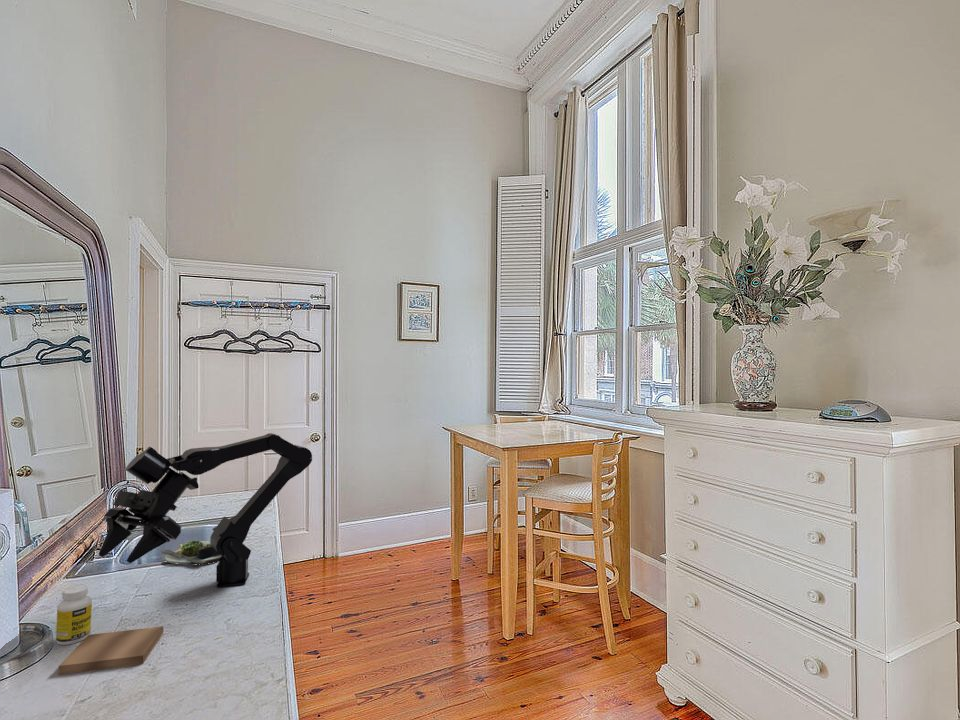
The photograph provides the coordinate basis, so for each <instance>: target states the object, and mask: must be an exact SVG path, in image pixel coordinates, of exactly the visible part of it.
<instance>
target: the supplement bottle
mask: <svg viewBox="0 0 960 720" xmlns="http://www.w3.org/2000/svg"><path fill="white" fill-rule="evenodd" d="M88 594H89V586H88V585H86V584H79V585H72V586H70V587H67V588H65V589H64V590H62V594H61V595H62V596H61V598H62V601H60V602H59V603H58V604H57V608H56V628H55V629H56V630H55V631H56V633H55V641H56V643H58V644H57V645H62V646H63V645H64V646H66V645H73V644H77V643H79V642H80V643H81V642H82V641H83V640H84V639H85V638H86V637H87V636H88V635H91V628H92V607H93V606H92V604H93V602H92V598H91V597H90V596H89V595H88Z"/></svg>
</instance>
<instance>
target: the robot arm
mask: <svg viewBox="0 0 960 720" xmlns="http://www.w3.org/2000/svg"><path fill="white" fill-rule="evenodd" d="M267 451H273V452H274V453H276V454H278V455H279V456H280V458H279V459H278V462H277V465H276V468H275V469H274V471H273V472H272V473H271V474H270V476H269V477H268V478H267V479H266V480H265V481H264V483H263V484H262V485H260V487H259V488H258V489H257V490H256V492H254V494H253V495H252V496H251V498H250V499H249V500H248V501H247V502H246V503H245V504H244V505H243V506H242V508H241V509H240V510H239V511H238V512H237V513H236V514H235V515H233V516H232V517H231V518H228V517H226V516H223V517H222V519H221V520H220V522H219V523H218V524H217V525H216V526H215V527H213V528H212V531H213V532H212V533H211V535H210V538H209V539H210V543H211V545H212V547H213V548H214V549H215V550H216V551H217V552H218V553H219V554H220V555H222V556H221V557H220V559H219V562H217V565H216V570H215V571H216V574H215V575H216V576H215V579H216V580H215V582H216V583H217V584H216V587H217V588H221V587H230V586H231V587H232V586H242V585H246V584H247V581H248V578H249V576H250V572H249V558H250V555H251V552H252V550H251V549H250V548H249V547H248V546H246V545H245V544H244V542H245V540H246V539H247V536H248V533H249V531H250V529H251V526H252V525H253V523H254V522H255V521H256V520H257V519H258V518H259V516H260V515H261V514H262V512H264V511H265V509H266V508H267V507H268V505H270V503H271V502H272V501H273V500H274V499H275V498H276V496H277V495H278V494H279V493H280V492H281V490H282V489H283V488H284V487H285V486H286V484H287V483H288V482H289V481H290V480H291V479H293V478H295V477H296V476H298V475H300V474H301V473H302V472H303V471H305V470H306V468H308V467H309V466H310V465H311V463H312V462H313V454H312V451H311V450H310V449H308V448H307V447H304V446H301V445H296V444H293V443H291V442H289V441H288V440H286V439H284V438H282V437H281V436H280V435H278V434H276V433H272V432H271V433H270V432H268V433H266V434H263V435H261V436H257V437H253V438H248V439H244V440H241V441H236V442H233V443H229V444H226V445H220V446H205V447H204V446H203V447H194V448H193V447H192V448H189V449H186V450H184V451H183V453H182V454H180V455H176V456H172V457H168V458H166V457H164V456H163V455H161V454H160V453H159V452H158V451H157V450H156V449H154V448H153V447H152V446H148V447H147V448H146V449H144V450H143V451H142V452H140V453H139V454H138V455H135V457H134V458H133V459H132V460H131V461H130V462H129V463H128V464H127V465H126V467H125V471H126V472H127V473H129V474H131V475H132V476H134V477H135V478H137V479H138V480H140V482H141V481H142V482H143V483H145V484H146V485H149V484H151V483H152V484H156V485H155V487H154V488H153V489H152V490H151V491H149V490H145V489H141V490H139V492H138V493H136V492H132V491H124V490H119V491H118V494H117V495H116V498H115V499H114V501H113V504H112V505H113V506H116V507H111V508H109V509H108V511H107V512H106V513H105V514H104V515H103V517H104V518H105V522H106V523H107V527H108V528H107V529H108V530H107V532H106V535H105V538H104V540H103V542H102V546H101V547H100V549H99V552H98V556H99V557H102V558H103V557H105V556H106V555H108V554H109V553H111V552H112V550H114V549H115V548H116V547H118V546H119V545H120V544H121V543H122V542H123V541H125V540H126V539H128V537H130V536H131V535H132V534H133V533H132V531H134V530H135V529H136V528H137V527H141V528H143V530H142V531H143V533H142V537H141V538H140V539H139V541H138V542H137V544H136V545H135V547H134V548H133V549H132V551H131V552H130V554H129V555H128V557H127V559H126V562H127V563H129V564H132V563H133V562H136V561H137V560H138V559H140V558H142V557H143V556H145V555H147V554H148V553H150V552H151V551H153V550H156V548H158V547H160V546H161V545H164V544H166V543H169V542H170V541H171V540H174V541H175V540H177V539H178V537H179V536H180V535H181V533H182V525H180V524H179V523H177V521H175V520H174V519H173V518H171V516H169V515H167V514H168V513H169V512H170V511H173V512H174V511H175V510H176V509H177V507H178V506H176V505H175V504H176V503H177V501H178V500H179V499H180V498H181V497H182V495H183V494H184V493H185V491H186V490H187V489H189V490H190V491H193V490H196V489H199V487H200V486H199V483H198V477H190V476H189V475H187V474H186V473H188V474H190V475H192V476H200V475H203V474H205V473H208V472H210V471H211V470H214V469H216V468H217V467H219V466H221V465H222V464H225V463H227V462H230V461H234V460H237V459H242V458H244V457H249V456H252V455H257V454H260V453H263V452H267ZM177 471H178V472H177ZM184 472H186V473H184ZM119 506H120V507H119ZM126 508H128V509H126Z"/></svg>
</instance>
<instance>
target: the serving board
mask: <svg viewBox="0 0 960 720" xmlns="http://www.w3.org/2000/svg"><path fill="white" fill-rule="evenodd" d="M163 635H164V625H163V626H162V625H161V626H153V627H146V628H144V627H143V628H135V629H127V630H119V631H118V630H117V631H109V632H102V633H101V632H100V633H93V634H91V633H90V635H88V636H87V637H86V638H85V639H84V640H82V641H80V643H79V644H78V645H77V646H76V647H75V648H74V649H73V650H72V651H71V652H70V653H69V655H68V656H67V657H66V658H65V659H64V660H63V661H62V662H61V663H60V664H58V674H60V675H66V674H67V675H68V674H74V673H75V674H76V673H81V672H82V673H83V672H90V671H91V672H92V671H98V670H106V669H113V668H119V667H122V668H123V667H127V666H128V667H129V666H135V665H144V663H145V661H146V660H147V659H148V657H149V656H150V655H151V653H152V651H153V649H154V648H155V647H156V646H157V644H158V642H159V641H160V639H161V638H162V636H163Z"/></svg>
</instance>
